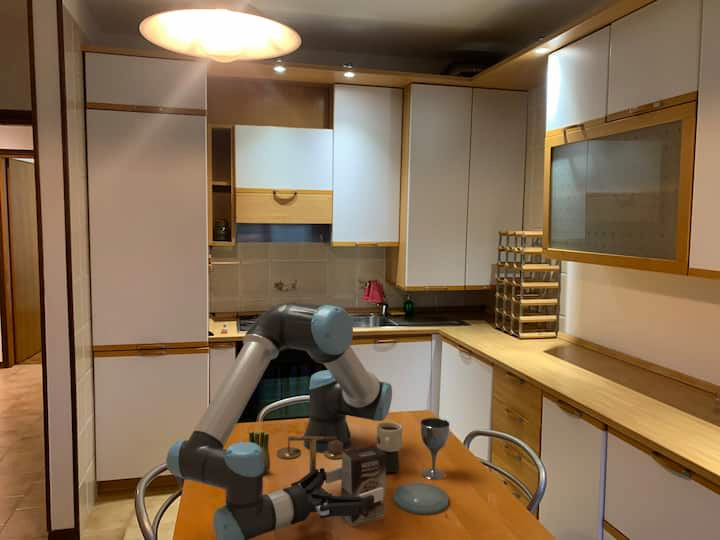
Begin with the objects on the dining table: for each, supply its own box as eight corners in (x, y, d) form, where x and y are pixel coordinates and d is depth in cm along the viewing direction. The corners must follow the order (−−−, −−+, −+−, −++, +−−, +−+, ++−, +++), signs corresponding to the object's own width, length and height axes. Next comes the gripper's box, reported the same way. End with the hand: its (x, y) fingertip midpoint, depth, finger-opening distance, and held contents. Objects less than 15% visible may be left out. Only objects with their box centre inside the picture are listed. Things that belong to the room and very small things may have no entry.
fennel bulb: (246, 472, 157) (246, 430, 156) (260, 466, 161) (260, 426, 160) (259, 478, 153) (259, 436, 152) (273, 473, 157) (273, 431, 156)
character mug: (379, 461, 166) (380, 418, 165) (403, 463, 165) (404, 420, 164) (372, 477, 156) (373, 431, 155) (398, 480, 154) (399, 434, 153)
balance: (270, 501, 141) (270, 433, 140) (336, 480, 153) (337, 418, 152) (285, 514, 135) (286, 444, 133) (353, 492, 147) (354, 427, 145)
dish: (382, 496, 145) (382, 491, 145) (422, 482, 153) (422, 477, 153) (418, 520, 134) (419, 515, 134) (460, 503, 142) (460, 498, 142)
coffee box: (351, 527, 130) (353, 460, 129) (339, 514, 136) (340, 450, 134) (385, 518, 134) (387, 453, 133) (372, 506, 140) (374, 443, 139)
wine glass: (446, 482, 154) (448, 429, 152) (417, 478, 155) (419, 426, 154) (448, 469, 161) (450, 419, 160) (420, 466, 163) (422, 416, 162)
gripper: (260, 499, 132) (335, 476, 144) (316, 551, 112) (397, 519, 124) (260, 469, 131) (336, 448, 144) (316, 515, 111) (398, 487, 124)
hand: (364, 481), depth 134 cm, fingers open, 13 cm apart
